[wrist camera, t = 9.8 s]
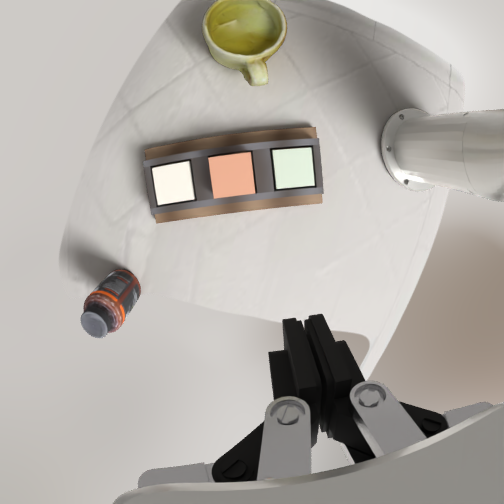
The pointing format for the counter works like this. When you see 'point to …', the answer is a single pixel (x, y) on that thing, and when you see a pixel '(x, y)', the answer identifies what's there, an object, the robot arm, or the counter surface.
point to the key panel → (261, 165)
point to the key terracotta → (232, 175)
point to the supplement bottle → (110, 303)
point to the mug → (244, 35)
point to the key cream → (174, 183)
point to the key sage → (292, 168)
